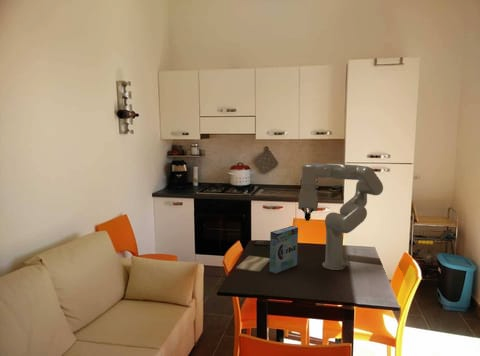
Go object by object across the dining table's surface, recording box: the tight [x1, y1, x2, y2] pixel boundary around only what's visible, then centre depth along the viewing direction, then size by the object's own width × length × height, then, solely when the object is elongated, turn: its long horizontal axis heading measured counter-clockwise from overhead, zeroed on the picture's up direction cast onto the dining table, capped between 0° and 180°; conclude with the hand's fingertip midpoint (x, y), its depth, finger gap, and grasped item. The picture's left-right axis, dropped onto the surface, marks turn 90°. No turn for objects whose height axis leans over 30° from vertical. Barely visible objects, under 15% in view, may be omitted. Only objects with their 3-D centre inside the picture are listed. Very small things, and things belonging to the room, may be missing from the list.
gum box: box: [269, 225, 299, 274], centre depth 210 cm, size 20×5×23 cm, turn 134°
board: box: [235, 255, 270, 273], centre depth 218 cm, size 14×22×1 cm, turn 158°
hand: (307, 220), depth 203 cm, fingers closed
